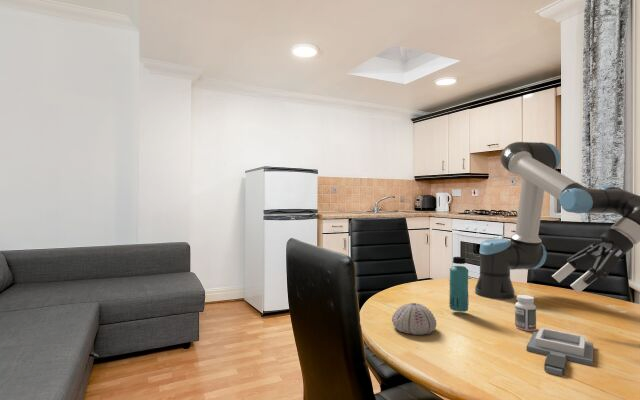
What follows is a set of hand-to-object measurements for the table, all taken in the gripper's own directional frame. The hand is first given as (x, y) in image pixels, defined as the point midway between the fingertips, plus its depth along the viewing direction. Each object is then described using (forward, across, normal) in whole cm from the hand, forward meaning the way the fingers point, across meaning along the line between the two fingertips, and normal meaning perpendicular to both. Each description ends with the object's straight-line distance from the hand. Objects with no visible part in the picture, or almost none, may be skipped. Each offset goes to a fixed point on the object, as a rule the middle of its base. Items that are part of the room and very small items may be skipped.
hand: (564, 284), depth 110 cm
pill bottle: (+18, 0, -3) cm, 18 cm away
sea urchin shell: (+42, -10, +21) cm, 48 cm away
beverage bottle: (+31, +10, +10) cm, 34 cm away
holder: (+16, -20, -4) cm, 26 cm away
